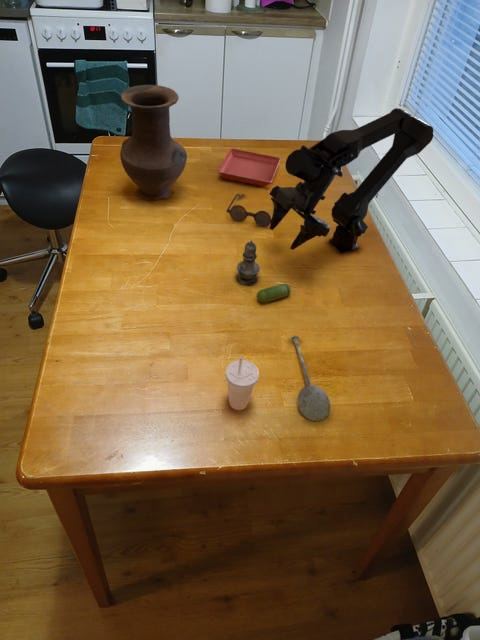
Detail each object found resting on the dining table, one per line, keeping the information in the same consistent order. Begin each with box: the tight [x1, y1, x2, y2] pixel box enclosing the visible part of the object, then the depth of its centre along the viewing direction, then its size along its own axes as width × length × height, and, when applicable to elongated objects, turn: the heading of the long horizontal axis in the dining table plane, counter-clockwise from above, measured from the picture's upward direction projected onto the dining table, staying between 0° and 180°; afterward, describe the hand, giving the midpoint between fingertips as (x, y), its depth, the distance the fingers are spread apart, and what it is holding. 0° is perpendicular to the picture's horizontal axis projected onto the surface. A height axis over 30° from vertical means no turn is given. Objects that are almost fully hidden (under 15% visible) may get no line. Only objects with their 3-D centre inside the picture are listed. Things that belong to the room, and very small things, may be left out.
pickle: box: [256, 283, 292, 303], centre depth 121 cm, size 9×3×3 cm, turn 116°
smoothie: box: [224, 356, 260, 411], centre depth 94 cm, size 6×6×14 cm
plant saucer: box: [217, 148, 281, 187], centre depth 164 cm, size 18×18×3 cm
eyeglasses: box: [226, 193, 272, 228], centre depth 147 cm, size 15×15×5 cm
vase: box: [119, 84, 188, 202], centre depth 141 cm, size 19×19×30 cm
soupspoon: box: [290, 335, 331, 423], centre depth 104 cm, size 22×3×7 cm
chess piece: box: [236, 240, 261, 286], centre depth 122 cm, size 6×6×12 cm
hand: (281, 239), depth 125 cm, fingers open, 9 cm apart
